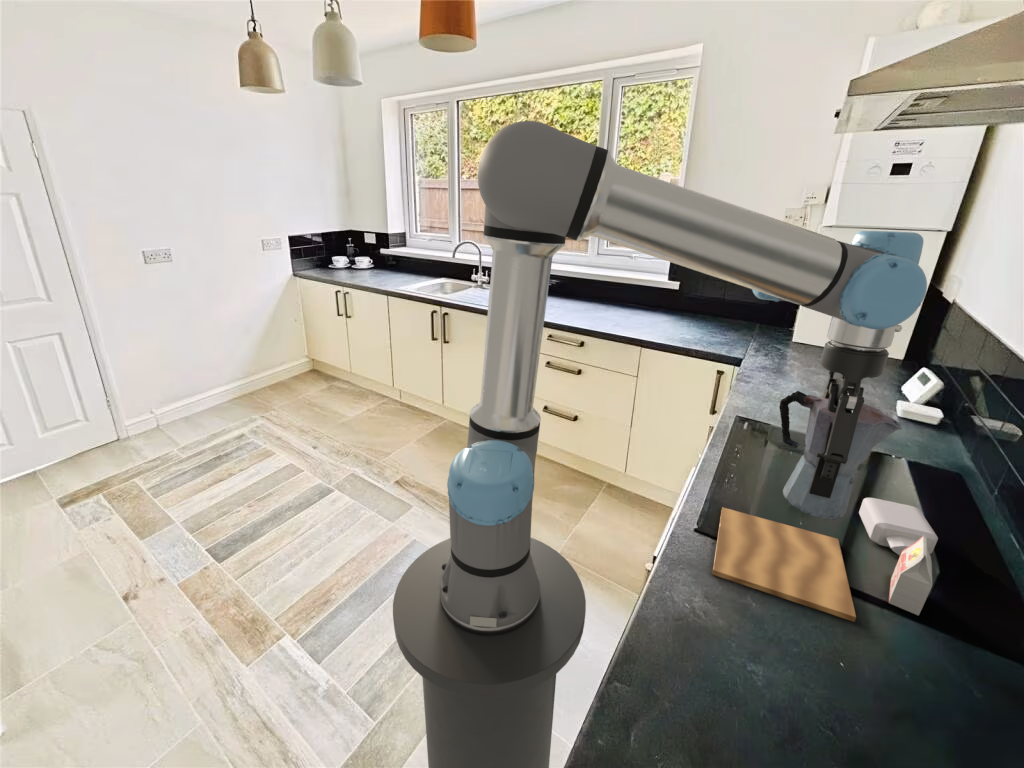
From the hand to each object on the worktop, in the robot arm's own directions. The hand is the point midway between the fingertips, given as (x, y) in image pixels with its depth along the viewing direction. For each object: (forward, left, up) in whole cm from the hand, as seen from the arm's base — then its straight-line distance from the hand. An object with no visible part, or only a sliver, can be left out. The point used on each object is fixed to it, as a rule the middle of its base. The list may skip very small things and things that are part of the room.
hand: (816, 480), depth 73 cm
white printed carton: (+16, +1, -17) cm, 24 cm away
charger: (+18, +16, -17) cm, 30 cm away
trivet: (-2, +1, -17) cm, 17 cm away
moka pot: (0, 0, -4) cm, 4 cm away
